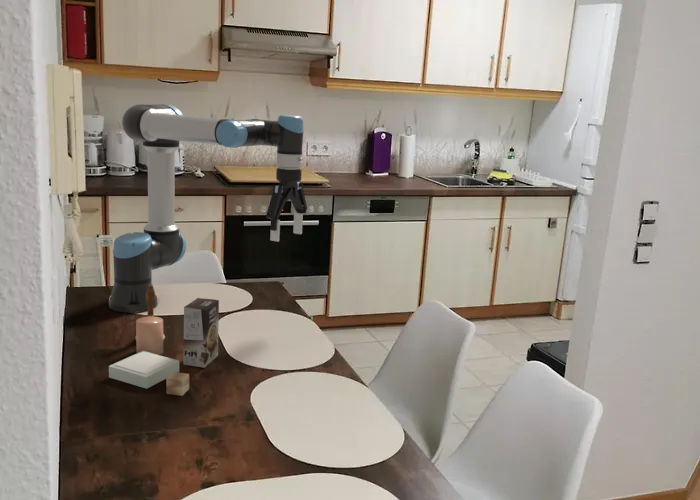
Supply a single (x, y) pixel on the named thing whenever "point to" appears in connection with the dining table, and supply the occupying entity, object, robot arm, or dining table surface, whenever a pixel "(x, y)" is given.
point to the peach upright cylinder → (149, 335)
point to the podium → (143, 369)
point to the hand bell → (150, 302)
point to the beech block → (177, 383)
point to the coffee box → (201, 332)
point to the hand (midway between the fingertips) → (286, 237)
